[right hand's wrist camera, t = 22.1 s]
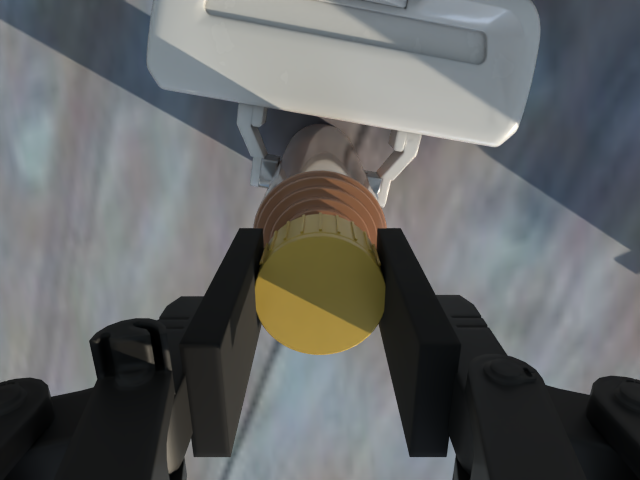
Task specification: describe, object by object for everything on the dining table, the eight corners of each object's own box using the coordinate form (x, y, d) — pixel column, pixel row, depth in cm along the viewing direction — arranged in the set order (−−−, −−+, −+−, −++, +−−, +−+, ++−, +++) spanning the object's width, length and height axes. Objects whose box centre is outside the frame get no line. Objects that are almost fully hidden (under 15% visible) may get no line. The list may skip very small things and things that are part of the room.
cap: (285, 333, 15) (280, 371, 13) (242, 233, 14) (229, 260, 12) (392, 300, 15) (404, 335, 13) (358, 195, 14) (365, 215, 12)
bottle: (358, 126, 32) (420, 209, 12) (352, 196, 34) (396, 366, 14) (286, 121, 32) (230, 197, 12) (283, 192, 34) (232, 358, 14)
